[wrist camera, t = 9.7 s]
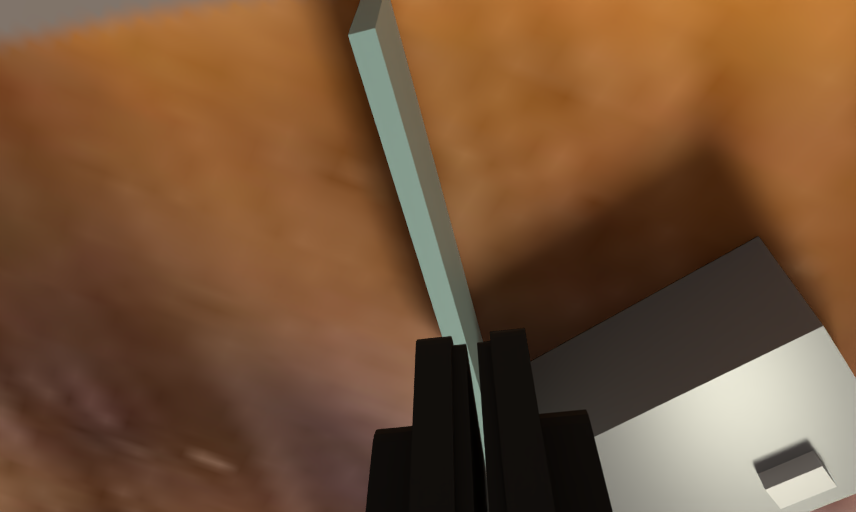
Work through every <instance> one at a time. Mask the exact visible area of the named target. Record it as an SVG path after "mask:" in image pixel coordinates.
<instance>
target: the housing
mask: <svg viewBox="0 0 856 512" xmlns="http://www.w3.org/2000/svg"><path fill="white" fill-rule="evenodd" d="M531 368H532V374H533V380H534V386H535V392H536V398H537V404H538V410H539V414H542V413H552V412H563V411H573V410H583V409H586V410H587V412H588V415H589V418H590V422H591V426H592V430H593V434H594V438H595V442H596V446H597V450H598V454H599V458H600V462H601V466H602V470H603V474H604V478H605V482H606V486H607V490H608V494H609V498H610V502H611V506H612V510H613V512H810V511H812V510H815V509H818V508H820V507H823V506H825V505H828V504H830V503H833V502H835V501H838V500H841V499H843V498H846V497H848V496H851V495H853V494H856V378H855V376H854V374H853V373H852V371H851V370H850V368H849V366H848V365H847V363H846V362H845V360H844V358H843V357H842V355H841V354H840V352H839V350H838V349H837V347H836V345H835V344H834V342H833V341H832V339H831V337H830V336H829V334H828V333H827V331H826V329H825V328H824V326H823V325H822V323H821V322H820V321H819V319H818V318H817V316H816V315H815V314H814V312H813V311H812V309H811V308H810V307H809V305H808V304H807V303H806V301H805V300H804V298H803V297H802V296H801V294H800V293H799V291H798V290H797V289H796V287H795V286H794V285H793V283H792V282H791V280H790V279H789V278H788V276H787V275H786V273H785V272H784V271H783V269H782V268H781V267H780V265H779V264H778V262H777V261H776V260H775V258H774V257H773V256H772V254H771V253H770V251H769V250H768V249H767V247H766V246H765V244H764V243H763V242H762V240H761V239H760V238H759V236H758V237H756V238H754V239H753V240H751V241H749V242H747V243H745V244H744V245H742V246H740V247H738V248H736V249H734V250H733V251H731V252H729V253H727V254H725V255H724V256H722V257H720V258H718V259H716V260H714V261H713V262H711V263H709V264H707V265H705V266H704V267H702V268H700V269H698V270H696V271H694V272H693V273H691V274H689V275H687V276H685V277H684V278H682V279H680V280H678V281H676V282H674V283H673V284H671V285H669V286H667V287H665V288H664V289H662V290H660V291H658V292H656V293H654V294H653V295H651V296H649V297H647V298H645V299H644V300H642V301H640V302H638V303H636V304H634V305H633V306H631V307H629V308H627V309H625V310H624V311H622V312H620V313H618V314H616V315H615V316H613V317H611V318H609V319H607V320H605V321H604V322H602V323H600V324H598V325H596V326H595V327H593V328H591V329H589V330H587V331H585V332H584V333H582V334H580V335H578V336H576V337H575V338H573V339H571V340H569V341H567V342H565V343H564V344H562V345H560V346H558V347H556V348H555V349H553V350H551V351H549V352H547V353H545V354H544V355H542V356H540V357H538V358H536V359H535V360H533V361H531Z"/></svg>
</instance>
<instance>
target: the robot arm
mask: <svg viewBox="0 0 856 512" xmlns="http://www.w3.org/2000/svg"><path fill="white" fill-rule="evenodd" d="M490 340H491V341H487V342H478V343H477V351H478V365H479V379H480V392H481V406H482V420H483V434H484V448H485V460H484V453H483V447H482V441H481V434H480V428H479V421H478V415H477V408H476V402H475V396H474V389H473V383H472V376H471V370H470V364H469V357H468V351H467V345H466V344H459V345H454V344H453V339H452V336H446V337H437V338H428V339H419V340H417V341H416V354H415V378H414V402H413V425H412V426H408V427H398V428H388V429H378V430H376V432H375V434H374V439H373V446H372V455H371V465H370V475H369V484H368V494H367V504H366V512H613V510H612V506H611V502H610V498H609V494H608V490H607V486H606V482H605V478H604V474H603V470H602V466H601V462H600V458H599V454H598V450H597V446H596V442H595V438H594V434H593V430H592V426H591V422H590V418H589V415H588V412H587V410H586V409H583V410H573V411H563V412H552V413H542V414H539V410H538V404H537V398H536V392H535V386H534V380H533V374H532V368H531V362H530V356H529V350H528V344H527V338H526V333H525V328H520V329H511V330H501V331H492V332H490ZM485 462H486V468H485ZM486 476H487V477H486Z"/></svg>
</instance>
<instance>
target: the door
mask: <svg viewBox="0 0 856 512" xmlns="http://www.w3.org/2000/svg"><path fill="white" fill-rule="evenodd" d="M348 37H349V40H350V43H351V46H352V50H353V53H354V56H355V59H356V62H357V66H358V69H359V72H360V75H361V78H362V82H363V85H364V88H365V91H366V94H367V98H368V101H369V104H370V107H371V110H372V114H373V117H374V120H375V123H376V126H377V130H378V133H379V136H380V139H381V142H382V146H383V149H384V152H385V155H386V158H387V162H388V165H389V168H390V171H391V174H392V178H393V181H394V184H395V187H396V190H397V194H398V197H399V200H400V203H401V206H402V210H403V213H404V216H405V219H406V222H407V226H408V229H409V232H410V235H411V238H412V242H413V245H414V248H415V251H416V254H417V258H418V261H419V264H420V267H421V270H422V274H423V277H424V280H425V283H426V286H427V290H428V293H429V296H430V299H431V302H432V306H433V309H434V312H435V315H436V318H437V322H438V325H439V328H440V331H441V334H442V337H446V336H452V339H453V344H454V345H459V344H466V345H467V351H468V357H469V364H470V370H471V376H472V383H473V389H474V396H475V402H476V408H477V415H478V421H479V428H480V434H481V441H482V447H483V453H484V460H485V448H484V434H483V420H482V406H481V392H480V379H479V365H478V351H477V343H478V342H483V340H482V336H481V332H480V329H479V325H478V321H477V318H476V314H475V310H474V307H473V303H472V299H471V296H470V292H469V288H468V285H467V281H466V277H465V274H464V270H463V266H462V262H461V259H460V255H459V251H458V248H457V244H456V240H455V237H454V233H453V229H452V226H451V222H450V218H449V215H448V211H447V207H446V203H445V200H444V196H443V192H442V189H441V185H440V181H439V178H438V174H437V170H436V167H435V163H434V159H433V156H432V152H431V148H430V144H429V141H428V137H427V133H426V130H425V126H424V122H423V119H422V115H421V111H420V108H419V104H418V100H417V97H416V93H415V89H414V86H413V82H412V78H411V74H410V71H409V67H408V63H407V60H406V56H405V52H404V49H403V45H402V41H401V38H400V34H399V30H398V27H397V23H396V19H395V15H394V12H393V8H392V4H391V1H390V0H360V3H359V6H358V9H357V11H356V14H355V17H354V20H353V22H352V25H351V28H350V31H349V33H348ZM485 468H486V462H485Z"/></svg>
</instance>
